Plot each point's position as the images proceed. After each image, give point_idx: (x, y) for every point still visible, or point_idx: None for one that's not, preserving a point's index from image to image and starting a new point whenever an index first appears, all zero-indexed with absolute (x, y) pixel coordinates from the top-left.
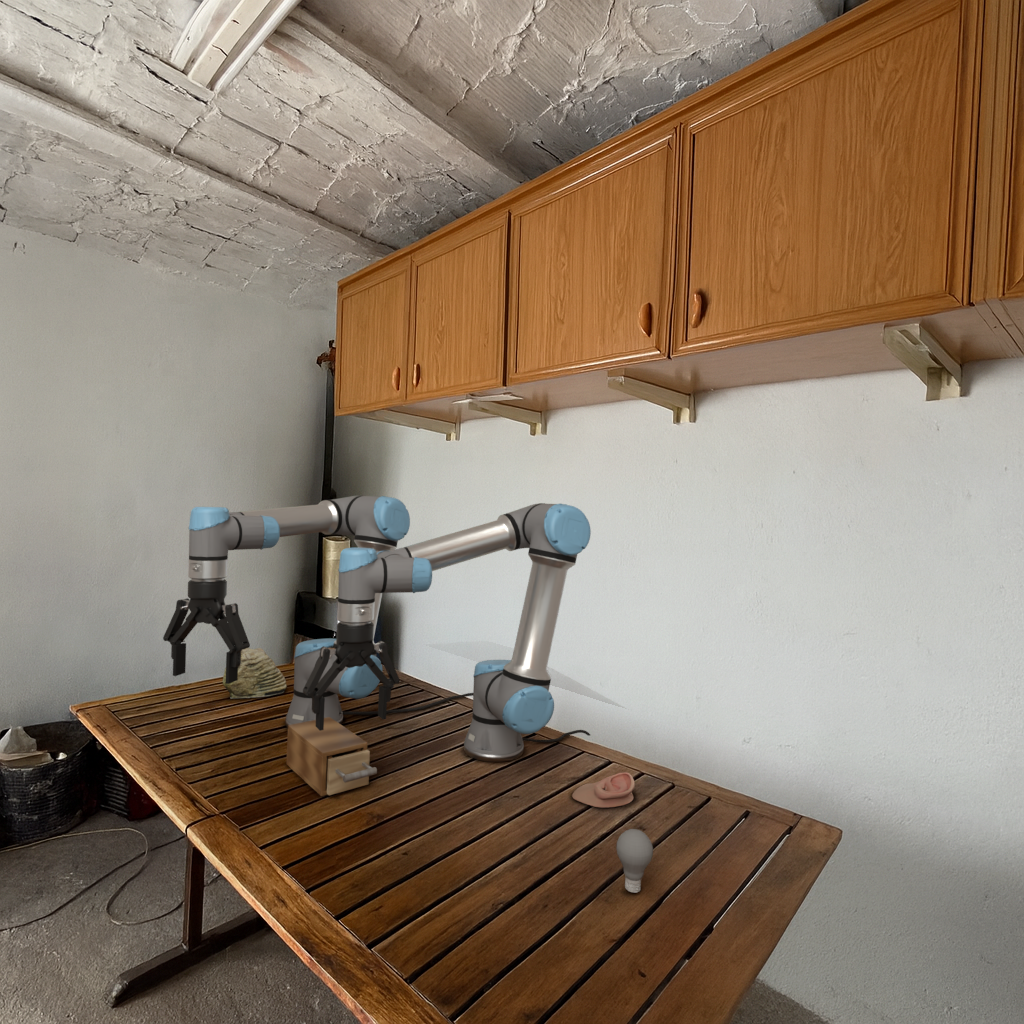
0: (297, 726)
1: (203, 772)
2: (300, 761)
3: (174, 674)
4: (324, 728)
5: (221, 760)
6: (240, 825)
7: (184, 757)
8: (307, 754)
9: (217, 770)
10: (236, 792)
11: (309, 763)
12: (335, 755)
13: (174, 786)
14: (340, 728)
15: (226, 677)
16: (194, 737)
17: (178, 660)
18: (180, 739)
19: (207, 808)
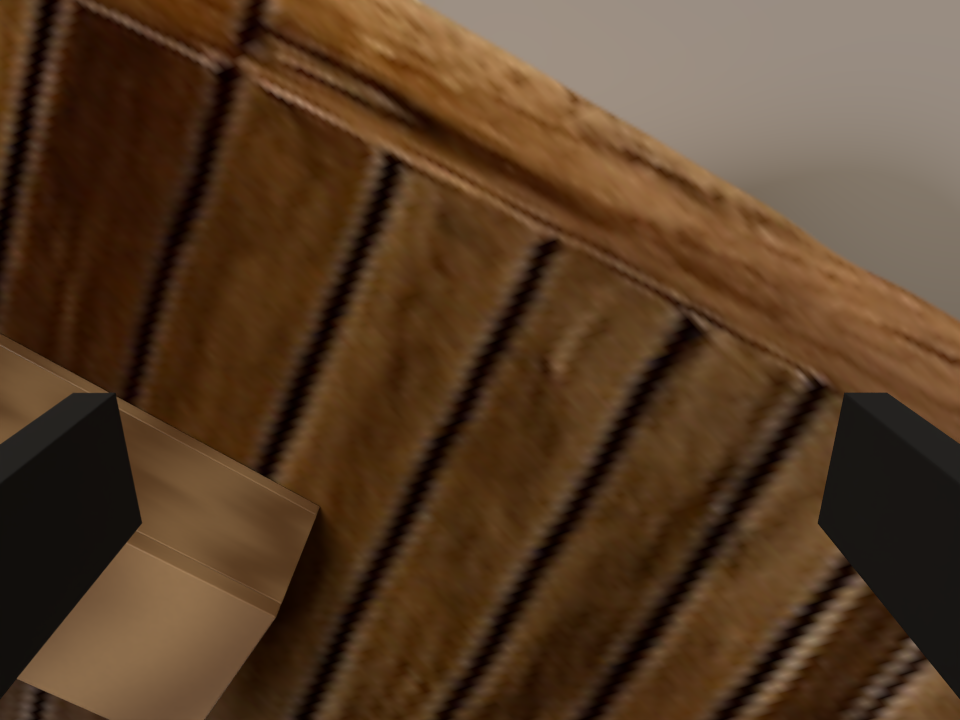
0: (222, 619)
1: (569, 341)
2: (168, 469)
3: (870, 398)
4: (91, 641)
5: (579, 451)
6: (79, 8)
7: (741, 423)
8: None
9: (529, 374)
10: (315, 243)
11: None
12: None
13: (588, 195)
14: (29, 665)
15: (62, 423)
16: (830, 578)
17: (953, 531)
18: None
19: (313, 82)
